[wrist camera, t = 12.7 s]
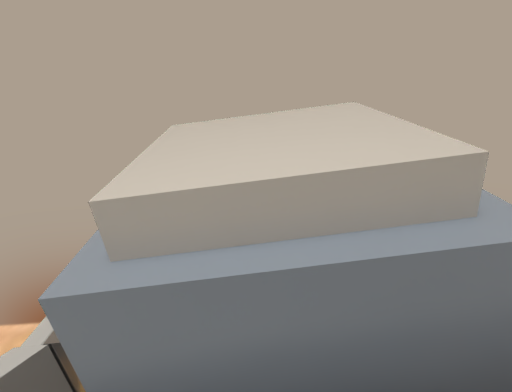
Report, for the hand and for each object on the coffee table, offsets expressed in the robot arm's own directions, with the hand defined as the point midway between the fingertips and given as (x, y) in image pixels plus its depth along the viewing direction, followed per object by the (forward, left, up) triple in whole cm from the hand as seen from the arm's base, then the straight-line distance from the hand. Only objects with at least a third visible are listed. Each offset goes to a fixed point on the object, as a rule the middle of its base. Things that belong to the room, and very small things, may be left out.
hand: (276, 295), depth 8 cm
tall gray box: (0, +1, -7) cm, 7 cm away
